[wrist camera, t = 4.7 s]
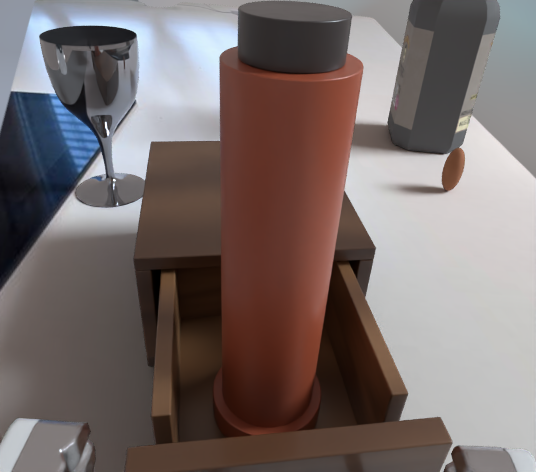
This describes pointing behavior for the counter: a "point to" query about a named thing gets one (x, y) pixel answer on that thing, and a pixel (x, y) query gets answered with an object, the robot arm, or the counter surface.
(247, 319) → the pepper mill
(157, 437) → the drawer
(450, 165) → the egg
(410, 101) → the liquor
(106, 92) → the wine glass
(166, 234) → the cabinet
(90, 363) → the counter surface
